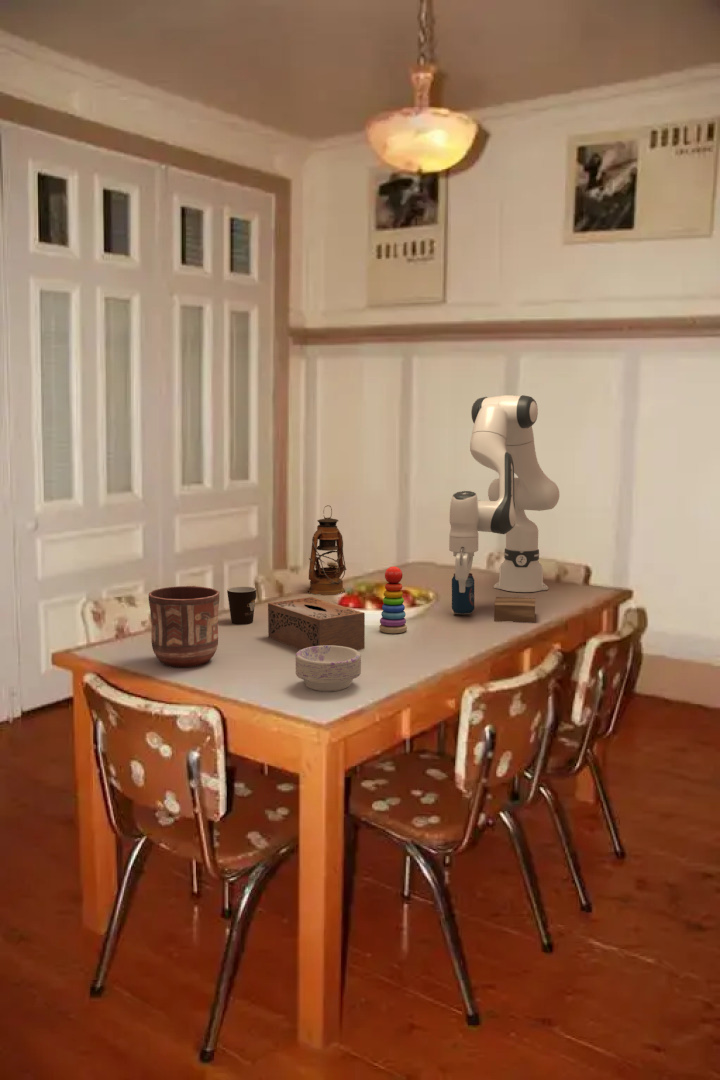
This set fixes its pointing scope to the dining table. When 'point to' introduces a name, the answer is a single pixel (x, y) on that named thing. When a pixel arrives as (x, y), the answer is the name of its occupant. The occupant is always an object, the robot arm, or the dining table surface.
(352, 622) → the tissue box cover
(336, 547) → the lantern
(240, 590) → the coffee mug
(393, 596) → the stacking toy
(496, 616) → the block
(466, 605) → the soda can
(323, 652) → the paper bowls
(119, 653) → the dining table surface
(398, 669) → the dining table surface
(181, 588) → the pottery
